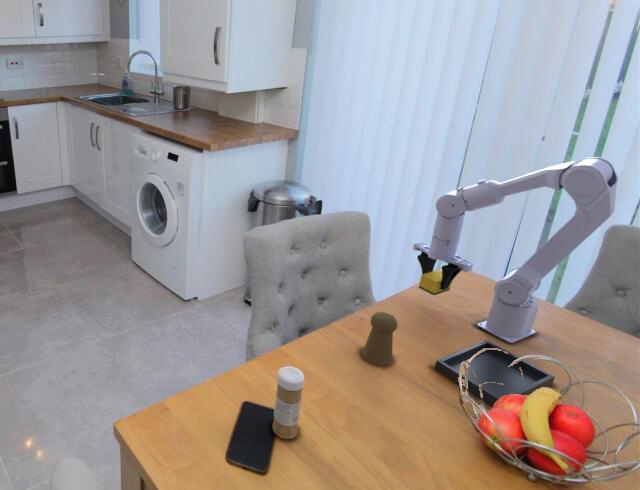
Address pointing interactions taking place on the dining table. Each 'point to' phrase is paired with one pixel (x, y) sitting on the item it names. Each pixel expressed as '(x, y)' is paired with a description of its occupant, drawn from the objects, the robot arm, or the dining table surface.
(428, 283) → the sponge
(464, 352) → the tray
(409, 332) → the dining table surface
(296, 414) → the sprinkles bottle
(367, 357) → the olive pawn
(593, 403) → the dining table surface
